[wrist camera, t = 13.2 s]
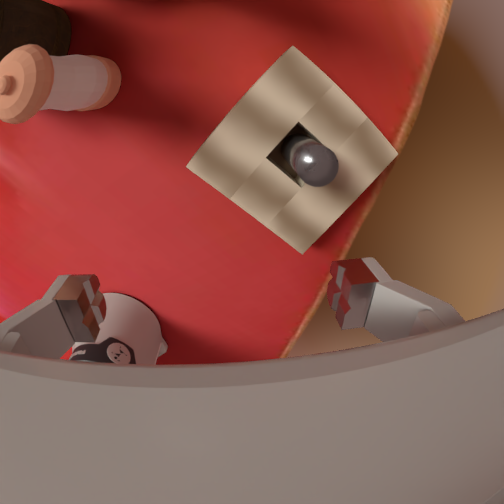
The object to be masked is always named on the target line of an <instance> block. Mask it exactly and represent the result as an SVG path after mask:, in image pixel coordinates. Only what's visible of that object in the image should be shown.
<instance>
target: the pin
mask: <svg viewBox="0 0 504 504" xmlns="http://www.w3.org/2000/svg"><path fill="white" fill-rule="evenodd" d="M281 151H282V155H283V157H284V158H285V160H286V161H287V162H288V163H289V164H290V166H291V167H292V168H293V169H294V171H295V172H296V173H297V174H298V175H299V177H300V178H301V179H302V180H303V181H304V182H305V183H306V184H308V185H310V186H313V187H322V186H325V185H327V184H329V183H330V182H332V181H333V180H334V178H335V177H336V175H337V173H338V168H339V163H338V159H337V157H336V155H335V153H334V152H333V151H332V150H330V149H329V148H327V147H325V146H324V145H322V144H320V143H318V142H316V141H314V140H312V139H311V138H309V137H307V136H305V135H303V134H292V135H289V136H288V137H287V138H286V139H285V140H284V141H283V143H282V147H281Z"/></svg>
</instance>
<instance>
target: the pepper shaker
mask: <svg viewBox="0 0 504 504" xmlns="http://www.w3.org/2000/svg"><path fill="white" fill-rule="evenodd" d="M120 85H121V73H120V69H119V67H118V66H117V64H116V63H115V62H113V61H112V60H110V59H108V58H104V57H100V56H95V55H88V56H85V55H79V54H75V55H66V56H50V55H49V54H48V53H47V51H46V50H45V49H43V48H42V47H40V46H39V45H35V44H27V45H24V46H21V47H18V48H16V49H14V50H13V51H11V52H10V53H9V54H8V55H6V56H5V57H4V58H3V59H2V61H1V62H0V119H1V120H2V121H3V122H7V123H12V124H18V123H23V122H25V121H27V120H28V119H30V118H31V117H33V116H34V115H35V114H36V113H37V112H38V111H39V110H45V109H55V110H62V111H71V110H77V111H87V110H94V109H100V108H102V107H104V106H106V105H108V104H109V103H110V102H111V101H112V100H113V99H114V98H115V96H116V95H117V93H118V91H119V88H120Z"/></svg>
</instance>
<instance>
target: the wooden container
mask: <svg viewBox="0 0 504 504" xmlns="http://www.w3.org/2000/svg"><path fill="white" fill-rule="evenodd" d="M70 40H71V23H70V20H69V18H68V15H67V14H66V13H65V11H64V10H63V9H61V8H59V7H57V6H55V5H52V4H50V3H46V2H44V1H42V0H0V62H1V61H2V59H3V58H4V57H5V56H6V55H8V54H9V53H10V52H11V51H13V50H14V49H16V48H18V47H21V46H24V45H27V44H35V45H39V46H40V47H42V48H43V49H45V50H46V51H47V53H48V54H49V55H50V56H66V55H67V52H68V49H69V46H70Z"/></svg>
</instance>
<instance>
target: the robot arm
mask: <svg viewBox="0 0 504 504" xmlns="http://www.w3.org/2000/svg"><path fill="white" fill-rule="evenodd" d="M330 273H331V275H332V277H333V278H332V279H331V280H330V281H329V283H328V289H327V295H328V301H329V305H330V307H331V309H333V310H334V311H336V319H337V321H338V323H339V325H340V327H341V329H342V330H344V329H352V328H360V327H364V328H365V329H366V330H368V331H369V332H370V333H372V334H373V335H375V336H376V337H377V338H378V339H380V340H381V341H383V343H378V344H372V345H368V346H362V347H356V348H351V349H345V350H339V351H333V352H327V353H319V354H312V355H305V356H297V357H288V358H279V359H269V360H258V361H246V362H231V363H213V364H179V365H156V361H157V358H158V357H159V356H161V355H162V354H164V353H165V352H166V351H167V348H168V346H167V343H166V342H165V340H164V339H163V338H162V335H161V328H160V324H159V322H158V320H157V318H156V316H155V315H154V314H153V312H152V311H151V310H150V309H149V308H148V307H146V306H145V305H144V304H142V303H141V302H139V301H138V300H136V299H134V298H132V297H129V296H126V295H123V294H119V293H104V294H102V293H101V292H100V291H98V290H99V287H100V283H99V280H98V277H97V276H96V275H95V274H83V275H60V276H58V277H57V278H56V280H55V281H54V283H53V284H52V285H51V287H50V288H49V289H48V291H47V292H46V294H45V295H44V296H43V298H42V299H41V300H37V301H35V302H34V303H32V304H30V305H29V306H27V307H26V308H24V309H22V310H21V311H19V312H18V313H16V314H14V315H13V316H11V317H10V318H8V319H7V320H5V321H4V322H2V323H0V504H504V309H502V310H499V311H496V312H493V313H491V314H487V315H485V316H481V317H479V318H475V319H472V320H469V321H465V320H464V319H463V318H462V317H461V316H460V315H459V313H458V312H457V311H456V310H455V309H454V308H453V306H452V305H450V304H449V303H446V302H444V301H442V300H440V299H438V298H436V297H433V296H431V295H429V294H427V293H424V292H422V291H420V290H418V289H416V288H414V287H411V286H409V285H407V284H405V283H402V282H400V281H398V280H392V279H391V277H390V276H389V275H388V274H387V273H386V271H385V270H384V269H383V268H382V267H381V266H380V264H379V263H378V262H377V261H376V260H375V259H374V258H372V257H368V258H360V259H349V260H339V261H332V264H331V267H330ZM71 347H73V349H72V355H71V356H70V358H69V360H64V359H59V358H60V357H62V356H63V355H64V354H65V353H66V352H67V351H68V350H69V349H70V348H71Z"/></svg>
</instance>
